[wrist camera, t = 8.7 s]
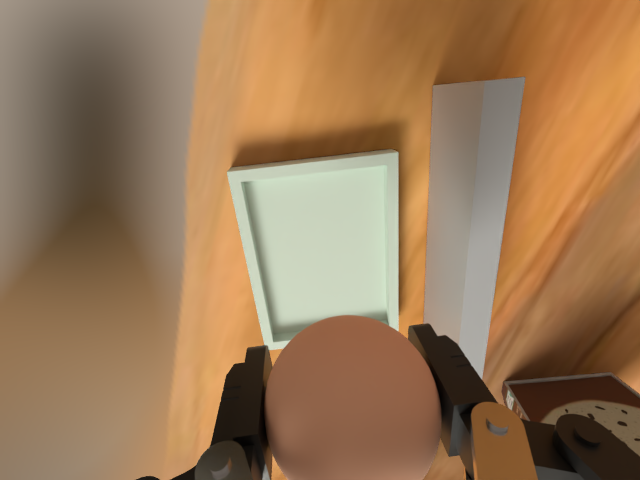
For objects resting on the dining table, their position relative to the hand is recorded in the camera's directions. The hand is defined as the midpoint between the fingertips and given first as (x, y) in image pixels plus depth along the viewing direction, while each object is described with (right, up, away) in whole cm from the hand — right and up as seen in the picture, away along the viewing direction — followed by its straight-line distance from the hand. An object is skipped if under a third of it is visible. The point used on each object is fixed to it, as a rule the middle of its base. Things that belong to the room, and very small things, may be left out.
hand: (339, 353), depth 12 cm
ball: (0, 0, 0) cm, 1 cm away
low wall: (+7, +4, +8) cm, 12 cm away
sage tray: (-1, +3, +8) cm, 9 cm away
